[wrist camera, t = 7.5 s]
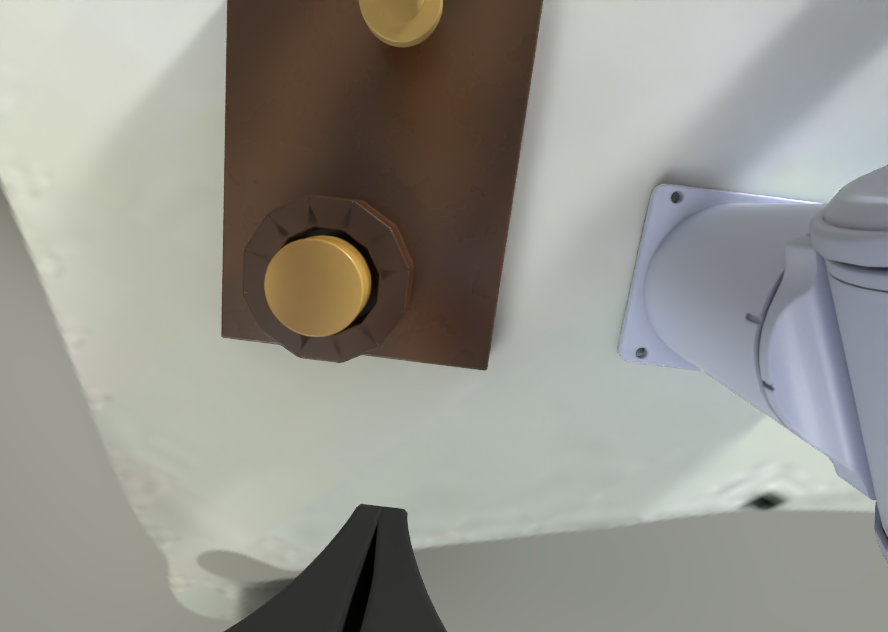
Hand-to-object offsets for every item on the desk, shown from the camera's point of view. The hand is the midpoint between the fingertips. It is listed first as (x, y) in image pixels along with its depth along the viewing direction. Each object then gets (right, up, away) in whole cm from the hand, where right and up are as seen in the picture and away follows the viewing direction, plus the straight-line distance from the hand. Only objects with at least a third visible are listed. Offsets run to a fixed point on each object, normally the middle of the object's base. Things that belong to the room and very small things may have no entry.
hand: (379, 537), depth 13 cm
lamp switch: (-3, +8, +6) cm, 10 cm away
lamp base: (-1, +12, +8) cm, 14 cm away
